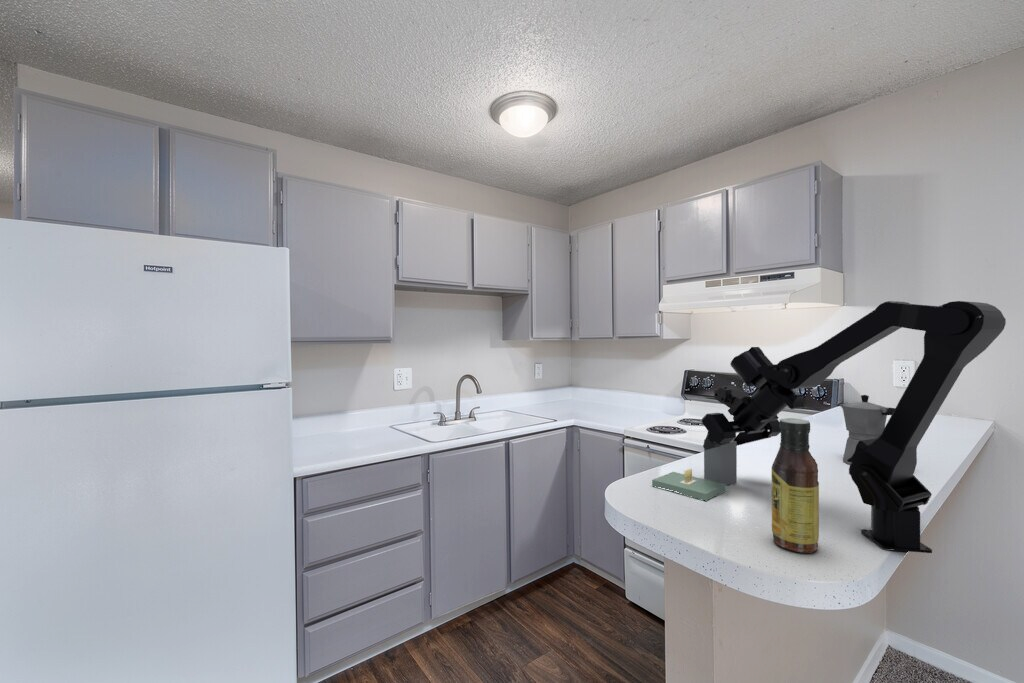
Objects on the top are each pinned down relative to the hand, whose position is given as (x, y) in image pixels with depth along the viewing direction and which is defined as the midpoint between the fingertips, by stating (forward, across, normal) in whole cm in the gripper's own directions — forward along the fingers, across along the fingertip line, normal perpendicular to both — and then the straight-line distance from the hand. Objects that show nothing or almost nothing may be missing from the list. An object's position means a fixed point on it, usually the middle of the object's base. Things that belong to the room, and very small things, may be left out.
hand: (719, 446), depth 100 cm
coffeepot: (+1, -46, +10) cm, 47 cm away
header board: (+5, +10, +6) cm, 13 cm away
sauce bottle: (-14, +15, +25) cm, 32 cm away
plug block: (+6, 0, +6) cm, 8 cm away
